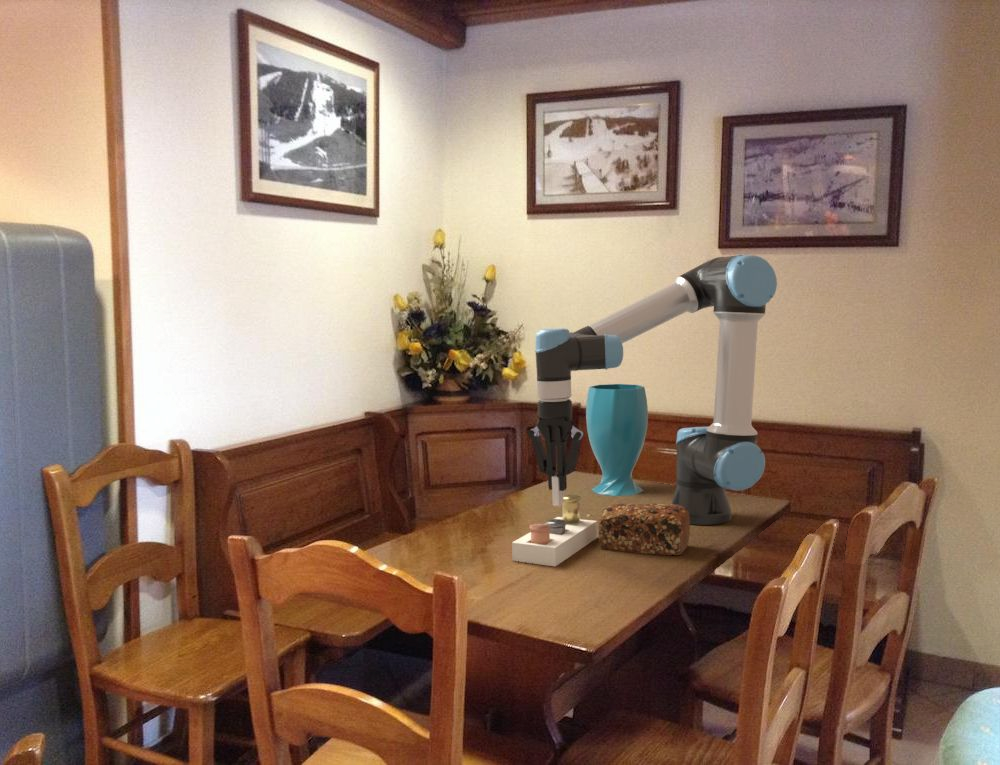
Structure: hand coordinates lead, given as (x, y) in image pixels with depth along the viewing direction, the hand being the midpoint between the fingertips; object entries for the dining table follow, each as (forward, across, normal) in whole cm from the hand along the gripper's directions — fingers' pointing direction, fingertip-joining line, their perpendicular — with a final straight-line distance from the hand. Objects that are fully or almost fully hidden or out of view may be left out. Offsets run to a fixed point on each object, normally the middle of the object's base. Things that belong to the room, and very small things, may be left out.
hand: (558, 504), depth 197 cm
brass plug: (+6, 0, -8) cm, 10 cm away
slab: (+10, 0, 0) cm, 10 cm away
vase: (+11, +9, -61) cm, 63 cm away
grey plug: (+10, +1, +1) cm, 10 cm away
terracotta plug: (+9, +1, +9) cm, 12 cm away
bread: (+11, -17, -8) cm, 22 cm away
